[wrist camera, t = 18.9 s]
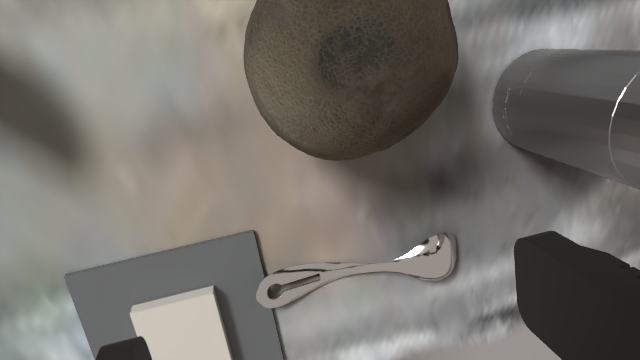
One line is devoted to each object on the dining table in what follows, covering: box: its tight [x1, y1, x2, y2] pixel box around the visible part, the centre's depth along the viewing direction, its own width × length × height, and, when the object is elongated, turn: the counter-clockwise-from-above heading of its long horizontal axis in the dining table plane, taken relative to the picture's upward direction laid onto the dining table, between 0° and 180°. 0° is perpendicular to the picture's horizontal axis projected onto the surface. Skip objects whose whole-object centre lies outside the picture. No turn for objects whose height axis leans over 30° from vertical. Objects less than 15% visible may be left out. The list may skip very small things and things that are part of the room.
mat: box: [64, 230, 284, 360], centre depth 44 cm, size 16×14×1 cm
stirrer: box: [255, 232, 457, 308], centre depth 45 cm, size 20×4×5 cm
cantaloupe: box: [244, 0, 458, 160], centre depth 33 cm, size 14×14×15 cm
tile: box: [130, 286, 233, 360], centre depth 44 cm, size 7×2×9 cm
